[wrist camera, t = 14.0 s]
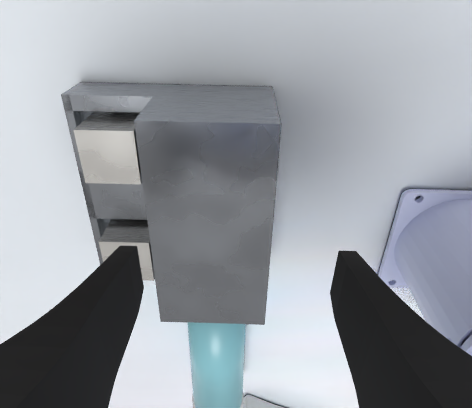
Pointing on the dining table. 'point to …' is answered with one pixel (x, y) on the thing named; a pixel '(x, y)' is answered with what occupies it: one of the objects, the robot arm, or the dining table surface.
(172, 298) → the housing
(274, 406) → the skincare box
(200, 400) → the cylinder
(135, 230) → the plunger
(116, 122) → the plunger
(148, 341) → the dining table surface
